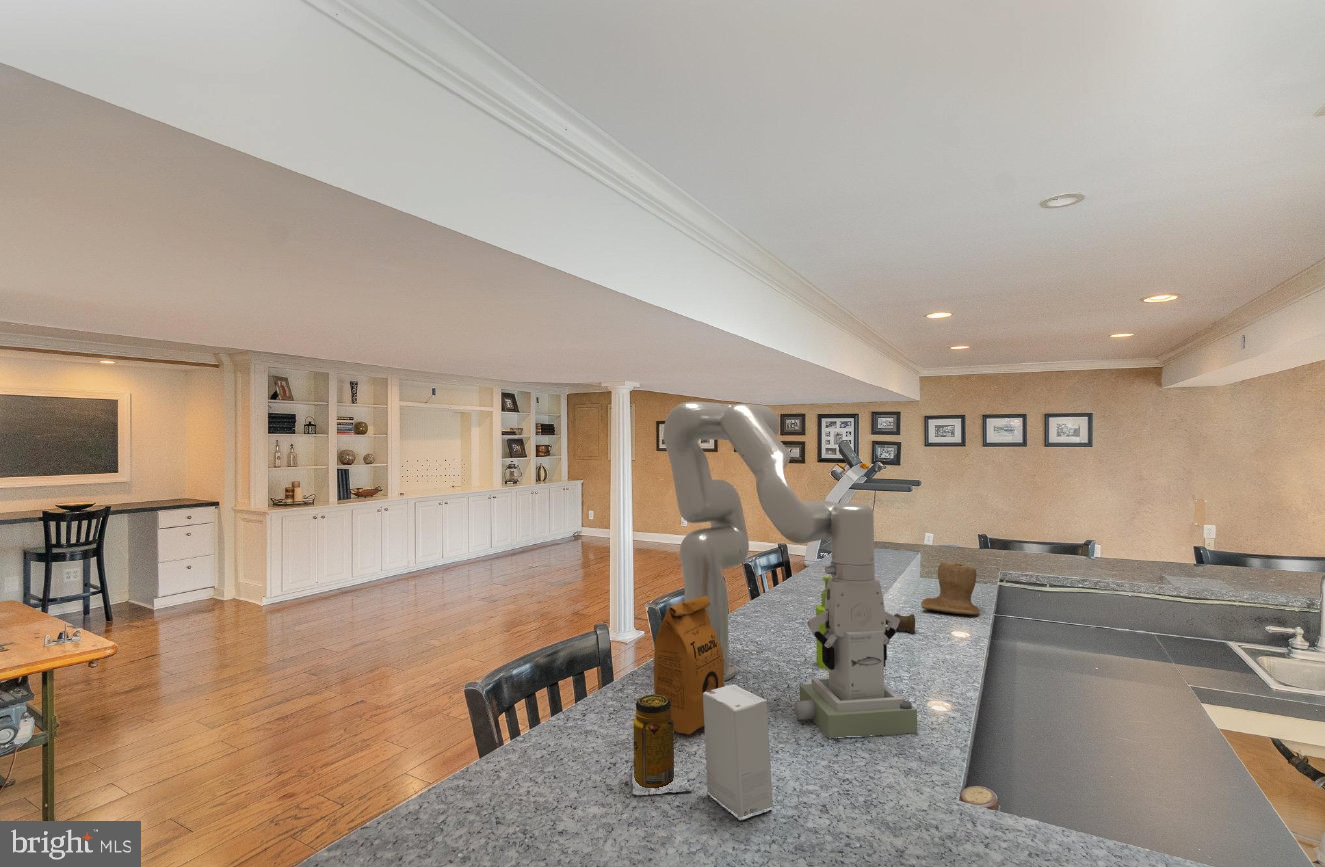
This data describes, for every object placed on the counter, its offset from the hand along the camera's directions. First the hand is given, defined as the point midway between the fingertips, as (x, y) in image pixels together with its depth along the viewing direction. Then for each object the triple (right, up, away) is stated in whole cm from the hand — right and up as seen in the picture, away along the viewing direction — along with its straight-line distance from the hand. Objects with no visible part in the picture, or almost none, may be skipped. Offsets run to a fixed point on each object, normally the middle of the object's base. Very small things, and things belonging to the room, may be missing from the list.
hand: (854, 666), depth 113 cm
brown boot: (+52, -11, +73) cm, 90 cm away
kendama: (+23, -11, +56) cm, 62 cm away
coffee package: (-30, -10, -1) cm, 32 cm away
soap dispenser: (+3, -10, +27) cm, 30 cm away
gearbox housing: (-1, -10, 0) cm, 10 cm away
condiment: (-36, -10, -21) cm, 42 cm away
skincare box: (-25, -9, -27) cm, 38 cm away
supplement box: (0, -6, 0) cm, 6 cm away
